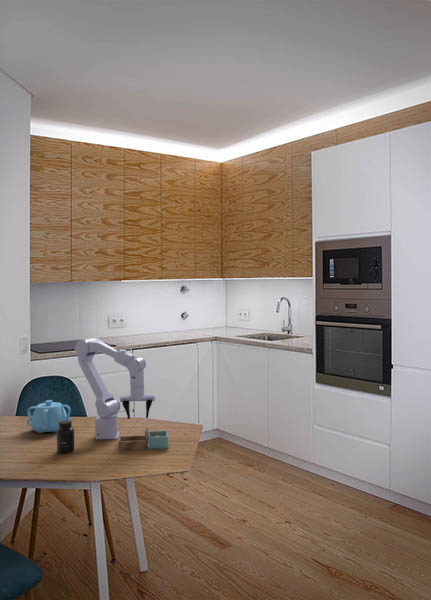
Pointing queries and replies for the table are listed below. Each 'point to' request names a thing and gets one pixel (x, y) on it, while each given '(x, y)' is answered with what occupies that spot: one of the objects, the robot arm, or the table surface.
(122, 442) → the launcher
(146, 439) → the plunger
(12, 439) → the table surface
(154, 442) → the teal open box
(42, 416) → the decorative pot
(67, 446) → the supplement bottle
